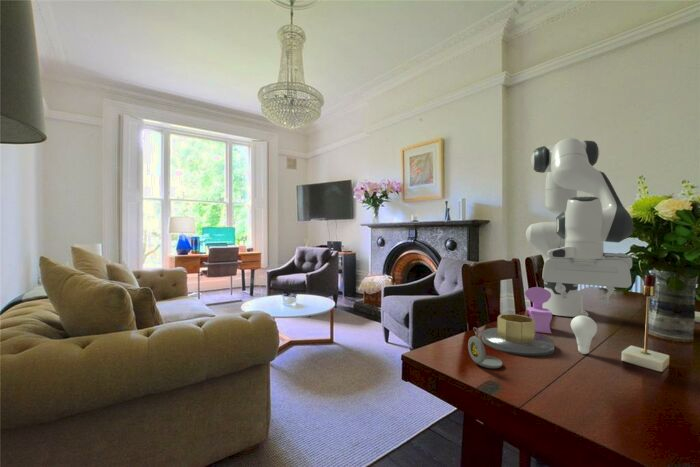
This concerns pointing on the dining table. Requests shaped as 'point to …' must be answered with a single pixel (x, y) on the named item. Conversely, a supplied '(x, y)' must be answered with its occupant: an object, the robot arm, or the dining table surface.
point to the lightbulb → (583, 332)
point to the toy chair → (539, 308)
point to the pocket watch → (481, 353)
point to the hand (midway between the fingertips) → (583, 300)
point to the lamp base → (517, 337)
